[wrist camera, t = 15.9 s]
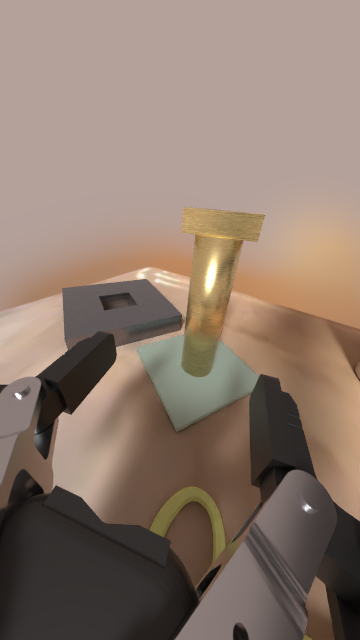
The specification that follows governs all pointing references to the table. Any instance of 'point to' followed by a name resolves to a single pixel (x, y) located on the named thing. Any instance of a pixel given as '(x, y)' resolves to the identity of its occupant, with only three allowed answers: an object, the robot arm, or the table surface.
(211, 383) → the mat
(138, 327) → the cover plate
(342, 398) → the table surface
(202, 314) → the t key
